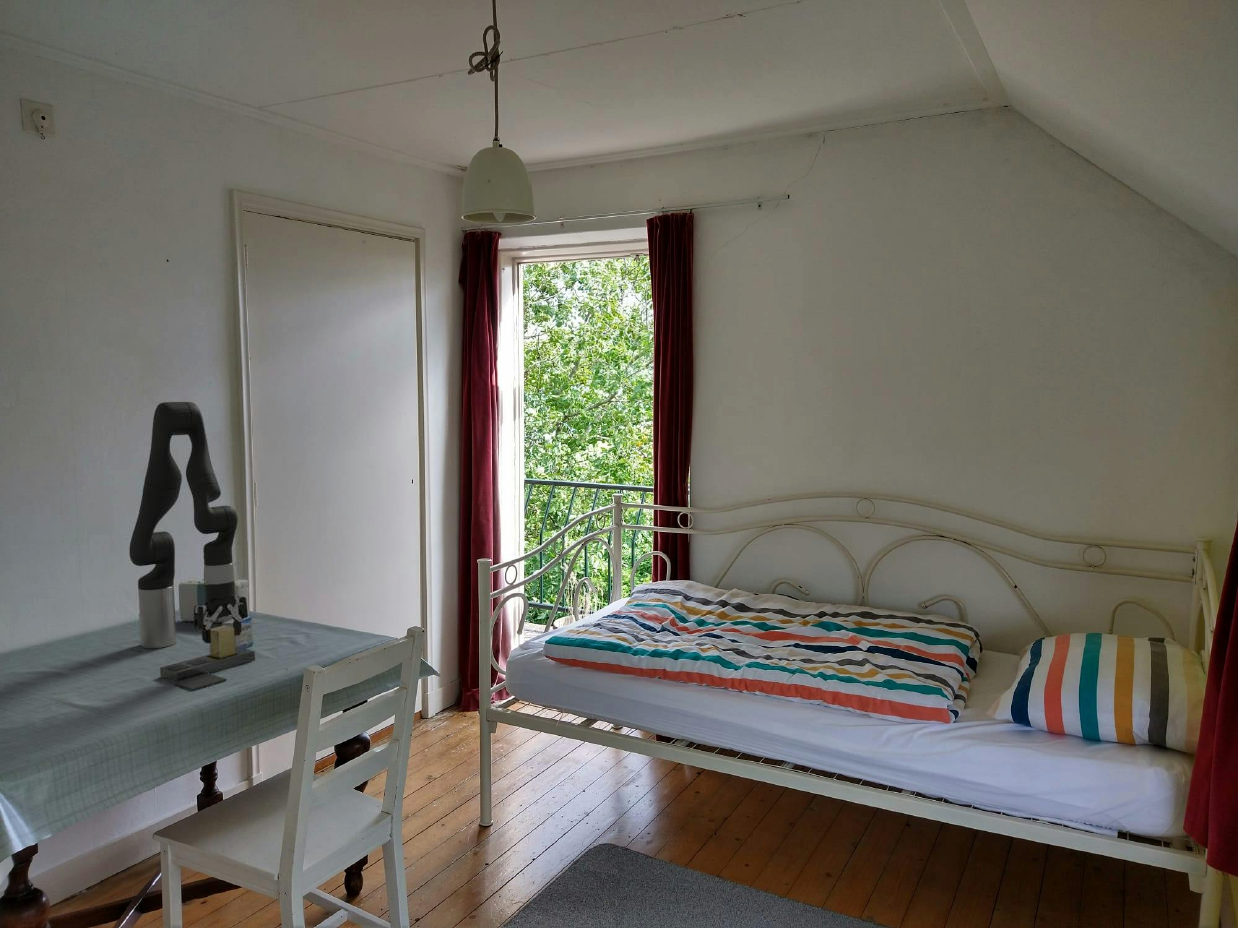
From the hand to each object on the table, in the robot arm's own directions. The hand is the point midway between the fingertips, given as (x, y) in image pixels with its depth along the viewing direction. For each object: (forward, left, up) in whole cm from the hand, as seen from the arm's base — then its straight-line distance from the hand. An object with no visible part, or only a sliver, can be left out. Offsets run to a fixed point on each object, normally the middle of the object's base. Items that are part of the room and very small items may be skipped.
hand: (222, 638), depth 235 cm
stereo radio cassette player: (-45, +26, -7) cm, 53 cm away
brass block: (0, 0, -7) cm, 7 cm away
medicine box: (-10, +11, -7) cm, 17 cm away
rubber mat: (+9, -12, -7) cm, 16 cm away
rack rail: (0, -4, -7) cm, 8 cm away
